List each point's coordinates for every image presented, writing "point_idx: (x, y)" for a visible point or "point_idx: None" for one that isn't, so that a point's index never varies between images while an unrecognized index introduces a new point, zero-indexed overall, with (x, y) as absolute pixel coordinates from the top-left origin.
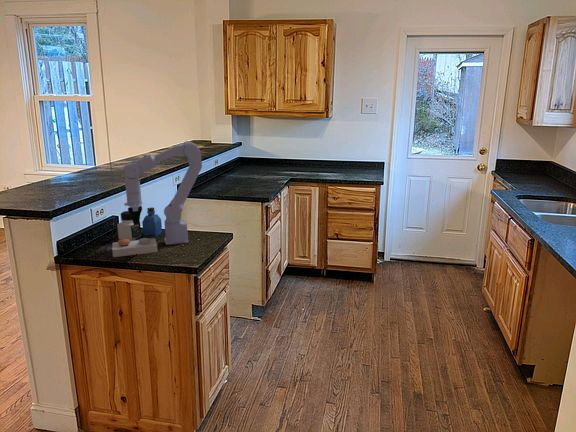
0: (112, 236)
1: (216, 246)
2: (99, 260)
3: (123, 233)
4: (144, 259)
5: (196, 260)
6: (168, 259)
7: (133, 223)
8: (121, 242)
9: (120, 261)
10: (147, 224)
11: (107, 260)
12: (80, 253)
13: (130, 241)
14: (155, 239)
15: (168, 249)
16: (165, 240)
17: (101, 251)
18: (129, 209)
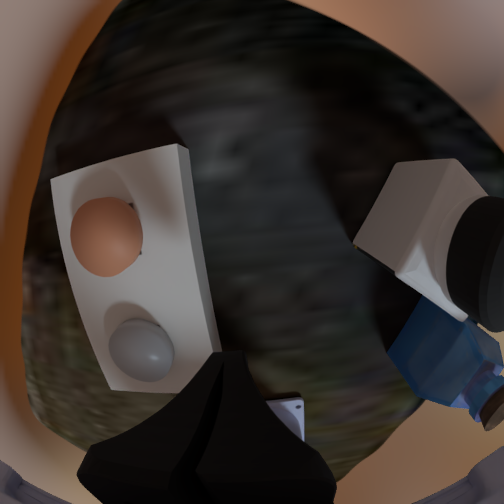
0: (444, 131)
1: None
2: (52, 127)
3: (396, 196)
4: (48, 316)
5: (69, 434)
6: (60, 385)
7: (428, 290)
8: (71, 227)
9: (30, 224)
10: (440, 348)
11: (45, 163)
12: (175, 8)
13: (181, 263)
14: None
15: (156, 404)
16: (269, 405)
17: (175, 90)
18: (80, 479)
